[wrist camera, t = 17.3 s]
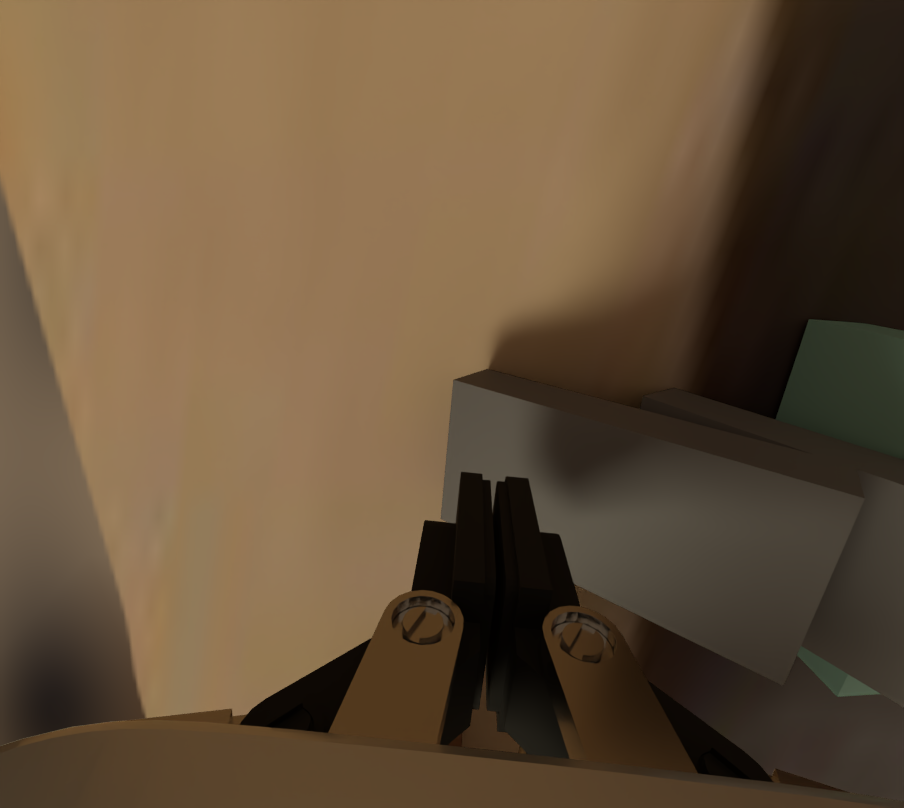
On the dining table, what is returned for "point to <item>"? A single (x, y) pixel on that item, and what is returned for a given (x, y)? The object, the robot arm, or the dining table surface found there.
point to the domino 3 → (847, 413)
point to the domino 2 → (864, 554)
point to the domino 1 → (665, 511)
